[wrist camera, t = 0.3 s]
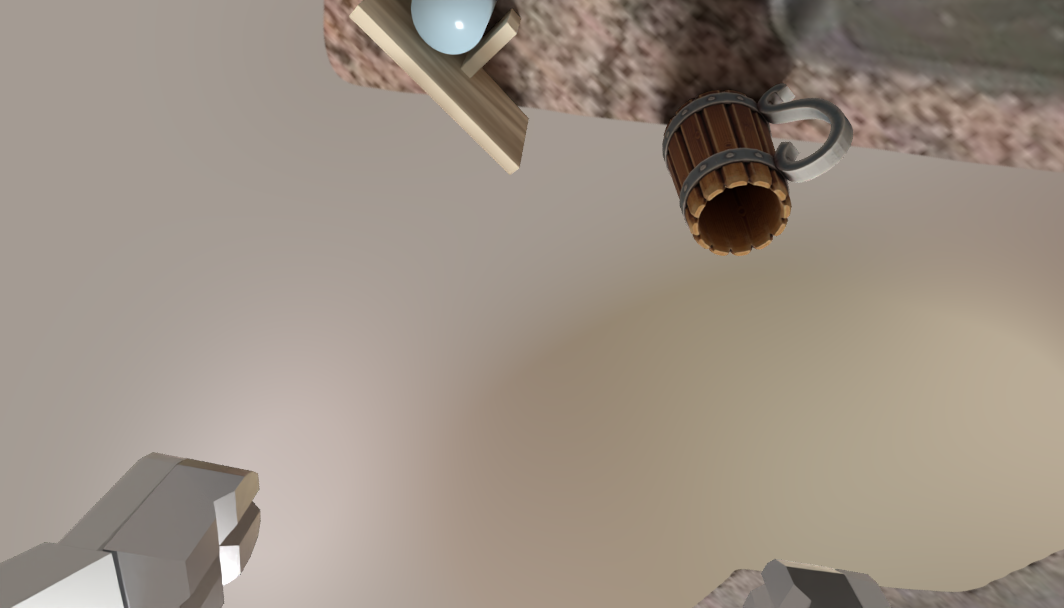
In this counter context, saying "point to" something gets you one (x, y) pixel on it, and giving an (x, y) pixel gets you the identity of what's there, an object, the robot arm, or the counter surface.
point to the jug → (451, 23)
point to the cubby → (453, 76)
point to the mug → (744, 164)
